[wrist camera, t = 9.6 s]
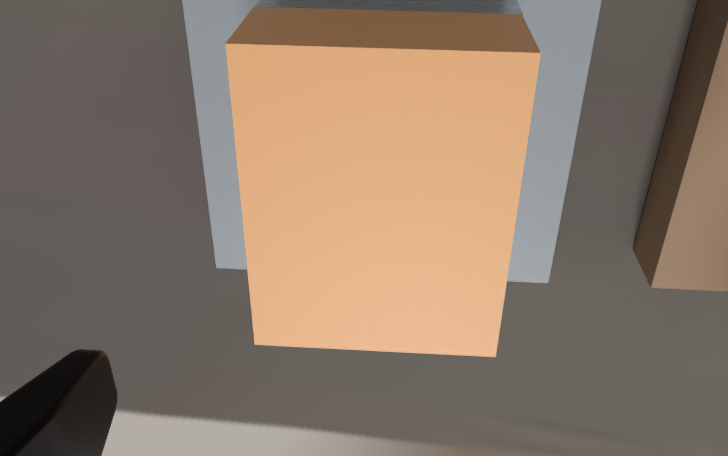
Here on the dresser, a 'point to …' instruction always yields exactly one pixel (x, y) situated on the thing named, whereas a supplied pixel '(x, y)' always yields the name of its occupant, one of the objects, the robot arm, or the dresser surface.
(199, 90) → the slate stand
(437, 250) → the cover
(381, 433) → the dresser surface
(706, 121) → the walnut stand
